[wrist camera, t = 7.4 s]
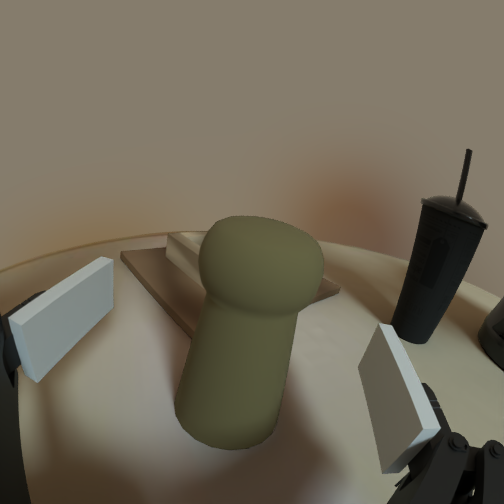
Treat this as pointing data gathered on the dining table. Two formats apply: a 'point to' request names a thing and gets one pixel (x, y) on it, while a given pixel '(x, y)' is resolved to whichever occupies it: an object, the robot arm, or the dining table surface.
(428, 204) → the drinking cup
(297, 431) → the dining table surface
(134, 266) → the well board
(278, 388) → the olive green peg doll
